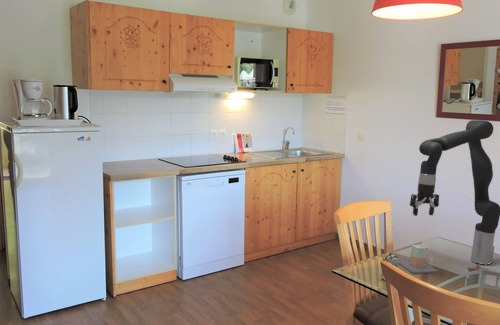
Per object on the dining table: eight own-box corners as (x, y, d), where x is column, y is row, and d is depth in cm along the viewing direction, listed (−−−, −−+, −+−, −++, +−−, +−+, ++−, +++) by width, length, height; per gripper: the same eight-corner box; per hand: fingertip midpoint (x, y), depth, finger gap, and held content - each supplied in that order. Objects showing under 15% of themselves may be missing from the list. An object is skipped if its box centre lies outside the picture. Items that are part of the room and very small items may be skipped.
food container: (393, 283, 197) (396, 262, 196) (380, 279, 200) (382, 259, 199) (400, 274, 208) (402, 254, 206) (387, 271, 211) (389, 251, 209)
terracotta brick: (418, 263, 220) (419, 254, 220) (424, 267, 216) (425, 257, 215) (409, 263, 219) (410, 254, 218) (415, 267, 214) (416, 258, 214)
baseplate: (420, 261, 226) (420, 259, 226) (438, 272, 212) (438, 270, 212) (396, 262, 222) (396, 260, 222) (412, 274, 209) (412, 272, 209)
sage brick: (419, 254, 219) (420, 244, 219) (425, 257, 215) (426, 248, 214) (410, 254, 218) (411, 244, 217) (416, 258, 213) (418, 248, 213)
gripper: (434, 181, 216) (430, 212, 218) (409, 181, 212) (405, 213, 215) (444, 184, 209) (440, 217, 211) (418, 184, 205) (414, 217, 208)
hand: (423, 215), depth 213 cm, fingers open, 8 cm apart
